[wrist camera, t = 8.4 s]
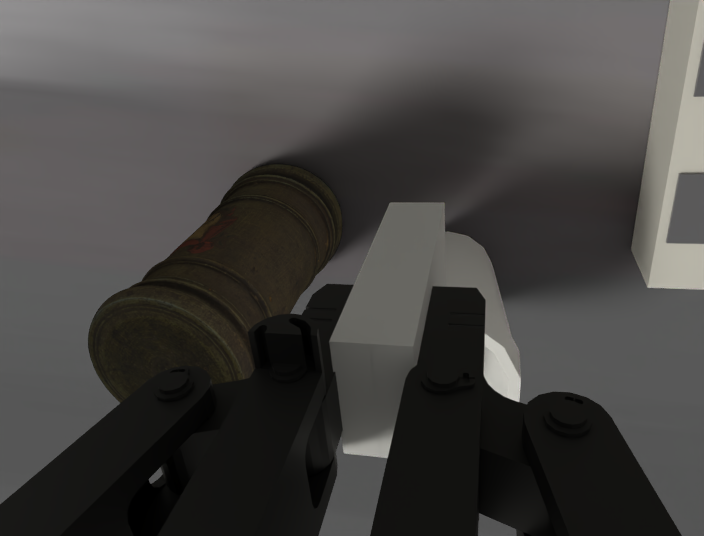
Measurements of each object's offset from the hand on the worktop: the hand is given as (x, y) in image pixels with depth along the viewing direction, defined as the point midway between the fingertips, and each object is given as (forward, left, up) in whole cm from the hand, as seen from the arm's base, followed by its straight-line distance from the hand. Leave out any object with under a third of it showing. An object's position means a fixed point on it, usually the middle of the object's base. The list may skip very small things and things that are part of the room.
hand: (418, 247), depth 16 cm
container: (+9, -13, -23) cm, 28 cm away
